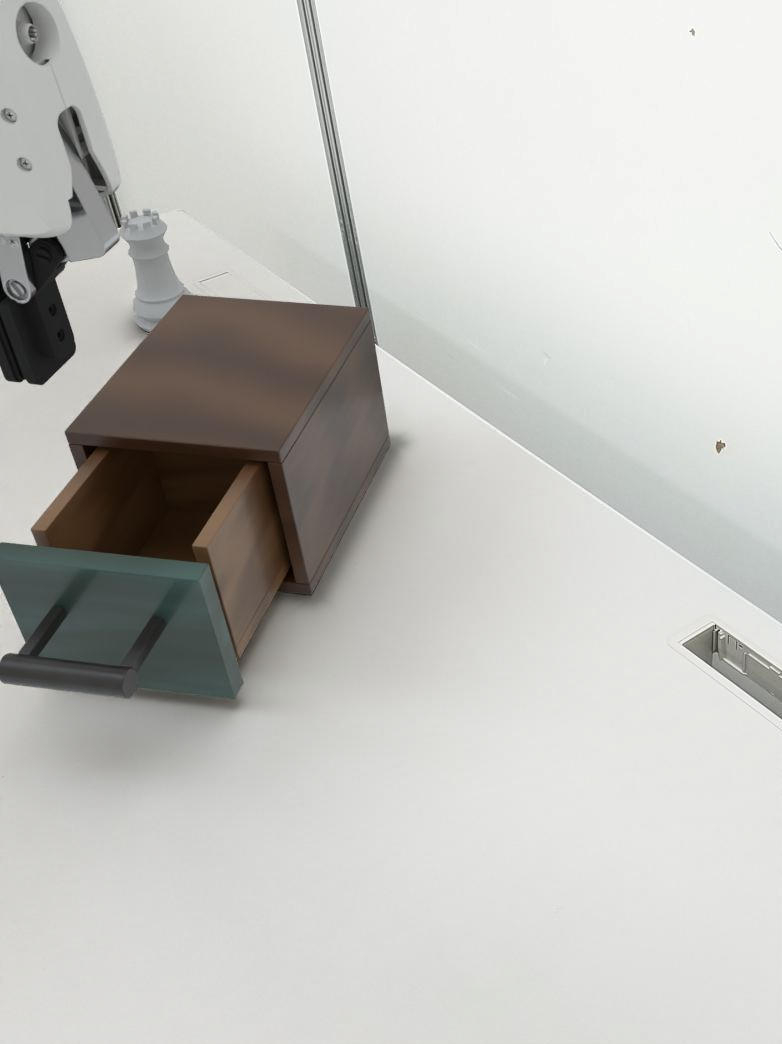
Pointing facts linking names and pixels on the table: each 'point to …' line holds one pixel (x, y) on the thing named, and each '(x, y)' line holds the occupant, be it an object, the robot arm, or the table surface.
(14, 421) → the table surface
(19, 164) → the robot arm
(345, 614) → the table surface
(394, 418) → the table surface
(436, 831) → the table surface
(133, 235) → the rook chess piece
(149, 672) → the drawer
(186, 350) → the cabinet
